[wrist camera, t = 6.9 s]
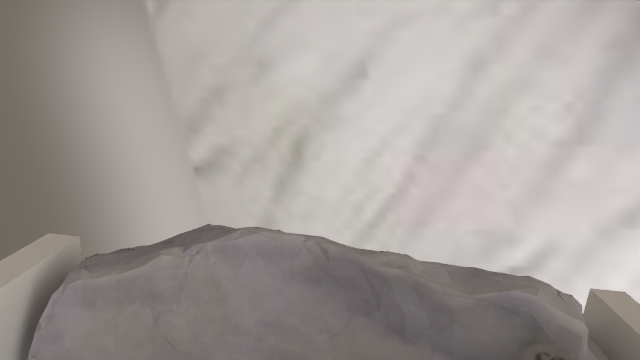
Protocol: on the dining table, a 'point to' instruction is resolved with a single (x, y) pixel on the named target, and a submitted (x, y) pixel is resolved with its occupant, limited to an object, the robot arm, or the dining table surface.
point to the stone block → (300, 305)
